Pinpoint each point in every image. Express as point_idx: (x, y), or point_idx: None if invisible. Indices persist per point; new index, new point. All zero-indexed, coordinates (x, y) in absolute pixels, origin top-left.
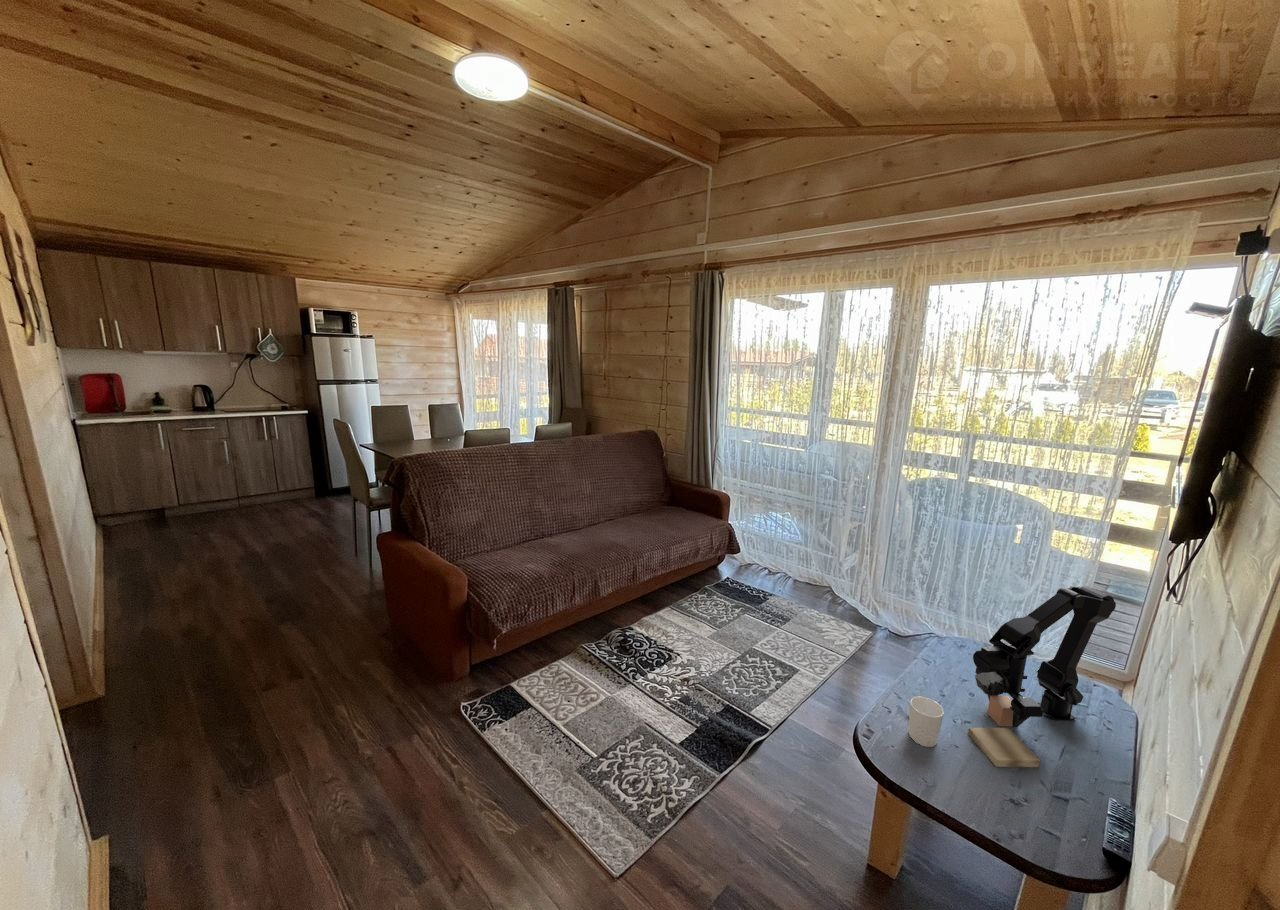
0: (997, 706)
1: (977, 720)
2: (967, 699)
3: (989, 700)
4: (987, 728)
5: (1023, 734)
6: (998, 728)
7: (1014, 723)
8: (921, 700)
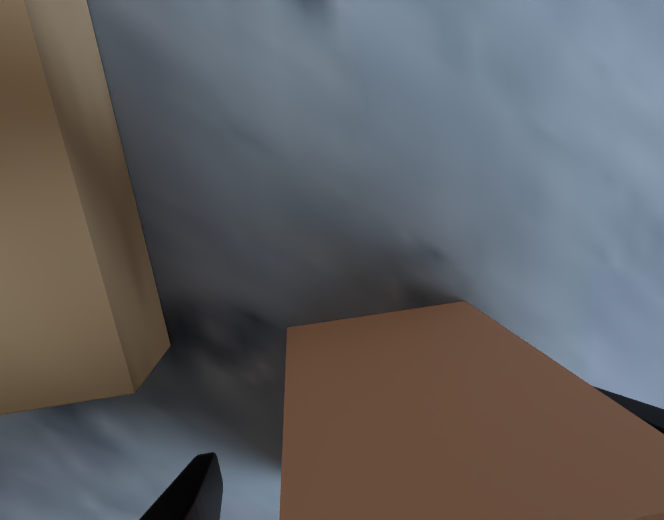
0: (425, 465)
1: (346, 126)
2: (658, 203)
3: (616, 400)
4: (16, 55)
5: None
6: (75, 249)
7: (145, 514)
8: None
